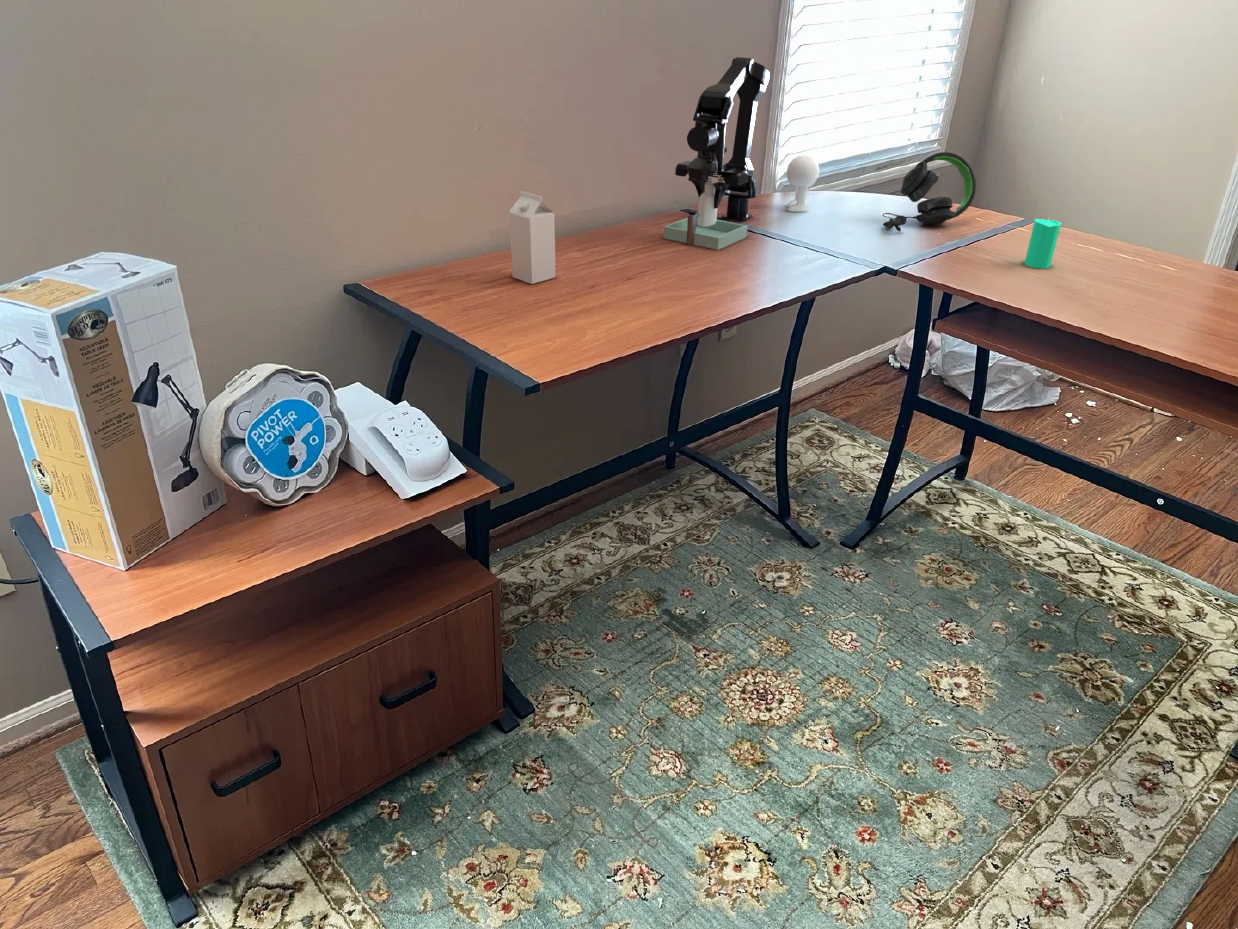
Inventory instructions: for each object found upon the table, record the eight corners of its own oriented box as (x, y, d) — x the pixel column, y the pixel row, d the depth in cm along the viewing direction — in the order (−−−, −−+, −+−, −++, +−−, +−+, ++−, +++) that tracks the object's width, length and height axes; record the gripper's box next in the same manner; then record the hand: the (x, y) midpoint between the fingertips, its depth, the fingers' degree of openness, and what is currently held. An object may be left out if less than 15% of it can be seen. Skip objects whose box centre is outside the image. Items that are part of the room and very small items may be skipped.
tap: (692, 240, 236) (694, 207, 232) (700, 242, 235) (702, 209, 231) (684, 243, 233) (686, 211, 229) (691, 245, 232) (693, 212, 228)
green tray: (693, 226, 248) (694, 214, 246) (746, 237, 239) (747, 225, 238) (663, 238, 238) (663, 226, 236) (718, 250, 229) (718, 237, 228)
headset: (893, 257, 254) (975, 200, 256) (915, 249, 241) (1002, 189, 243) (859, 202, 252) (943, 144, 253) (880, 191, 238) (968, 131, 240)
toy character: (782, 204, 270) (787, 151, 262) (813, 205, 269) (819, 152, 261) (783, 212, 262) (789, 158, 254) (815, 213, 261) (822, 159, 253)
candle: (1020, 264, 222) (1032, 215, 216) (1029, 259, 225) (1041, 210, 219) (1044, 270, 218) (1057, 220, 212) (1054, 264, 222) (1067, 215, 216)
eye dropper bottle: (694, 221, 239) (696, 176, 232) (714, 220, 240) (717, 174, 233) (699, 227, 235) (702, 181, 228) (719, 226, 236) (723, 180, 229)
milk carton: (535, 270, 213) (533, 188, 203) (555, 278, 209) (554, 194, 199) (512, 277, 209) (508, 193, 199) (531, 285, 204) (528, 199, 195)
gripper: (664, 144, 227) (662, 207, 234) (728, 154, 217) (724, 219, 225) (688, 137, 234) (685, 198, 242) (751, 147, 225) (746, 210, 233)
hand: (709, 206), depth 235 cm, fingers closed on eye dropper bottle, 3 cm apart
